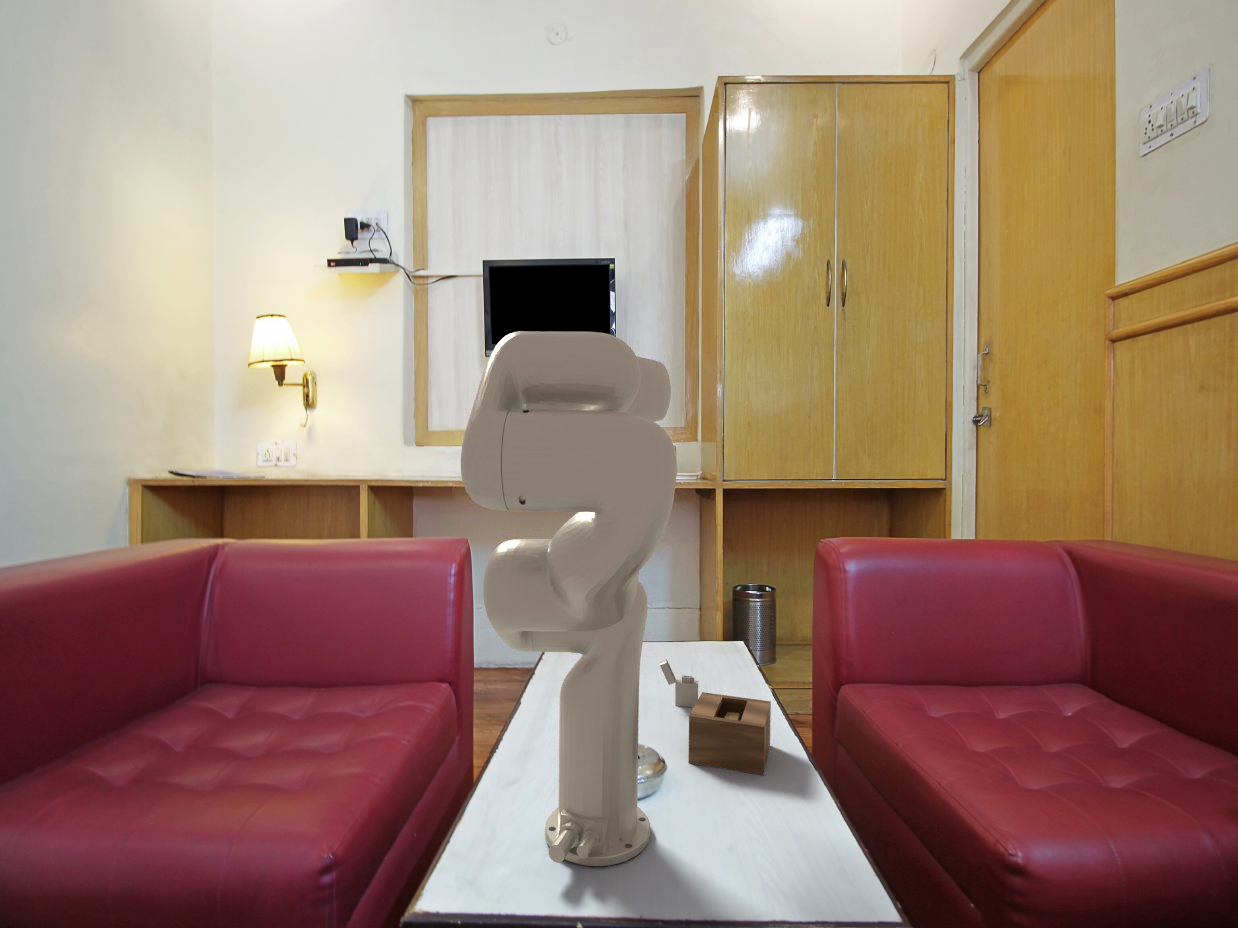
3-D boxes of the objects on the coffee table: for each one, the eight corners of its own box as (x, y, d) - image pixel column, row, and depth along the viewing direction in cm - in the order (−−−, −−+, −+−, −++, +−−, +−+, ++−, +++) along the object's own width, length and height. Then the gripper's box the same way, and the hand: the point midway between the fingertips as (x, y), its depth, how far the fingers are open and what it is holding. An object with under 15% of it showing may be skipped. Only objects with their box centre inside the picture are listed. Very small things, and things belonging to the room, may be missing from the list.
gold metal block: (735, 759, 93) (735, 726, 93) (721, 757, 93) (722, 724, 93) (739, 745, 97) (739, 713, 97) (726, 742, 98) (727, 711, 98)
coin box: (763, 775, 89) (764, 727, 89) (688, 762, 92) (689, 715, 92) (770, 745, 98) (770, 701, 98) (701, 734, 102) (702, 692, 102)
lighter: (698, 703, 115) (698, 660, 115) (697, 707, 113) (698, 663, 113) (659, 701, 116) (660, 658, 116) (659, 704, 114) (659, 661, 114)
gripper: (610, 457, 84) (609, 583, 84) (646, 458, 100) (645, 563, 100) (560, 457, 86) (558, 579, 86) (603, 457, 102) (602, 560, 103)
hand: (605, 571), depth 93 cm, fingers open, 9 cm apart
